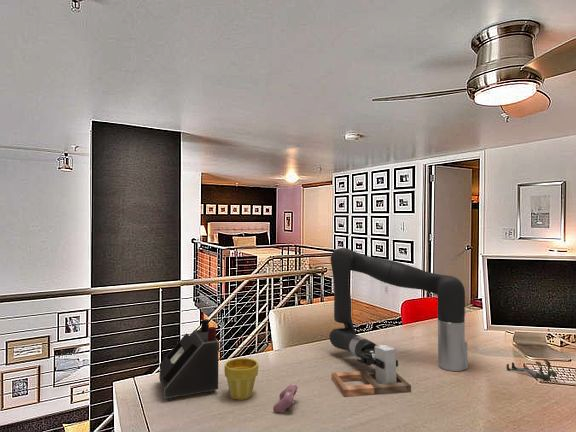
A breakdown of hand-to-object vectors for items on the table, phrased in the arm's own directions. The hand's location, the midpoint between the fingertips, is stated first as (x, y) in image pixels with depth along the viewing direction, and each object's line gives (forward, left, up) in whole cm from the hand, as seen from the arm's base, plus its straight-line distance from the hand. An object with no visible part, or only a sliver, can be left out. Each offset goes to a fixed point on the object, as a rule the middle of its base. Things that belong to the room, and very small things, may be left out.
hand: (390, 364), depth 127 cm
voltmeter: (+65, -10, -8) cm, 66 cm away
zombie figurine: (-53, -2, -8) cm, 54 cm away
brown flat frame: (+6, -3, -7) cm, 10 cm away
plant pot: (+48, -2, -7) cm, 49 cm away
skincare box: (+1, -3, -7) cm, 8 cm away
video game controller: (+35, +8, -8) cm, 37 cm away
